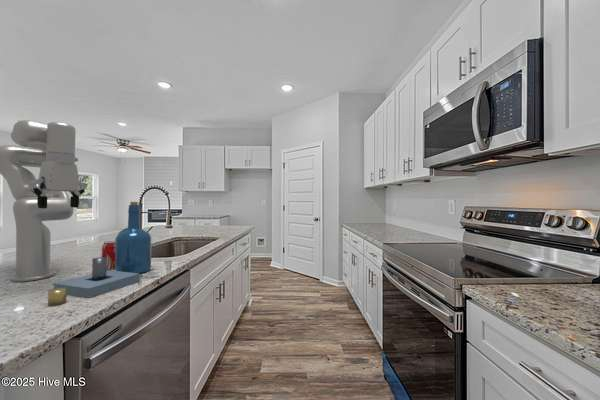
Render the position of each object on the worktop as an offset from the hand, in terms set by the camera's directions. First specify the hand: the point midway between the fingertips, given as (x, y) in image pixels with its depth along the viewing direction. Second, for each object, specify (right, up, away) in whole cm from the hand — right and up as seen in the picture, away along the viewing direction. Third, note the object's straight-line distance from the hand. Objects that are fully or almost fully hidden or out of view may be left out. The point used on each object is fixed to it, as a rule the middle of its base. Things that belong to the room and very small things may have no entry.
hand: (59, 207), depth 94 cm
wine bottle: (+13, -28, +20) cm, 37 cm away
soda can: (0, -28, +26) cm, 38 cm away
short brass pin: (+13, -28, -15) cm, 35 cm away
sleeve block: (+14, -28, 0) cm, 31 cm away
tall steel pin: (+14, -28, 0) cm, 31 cm away
